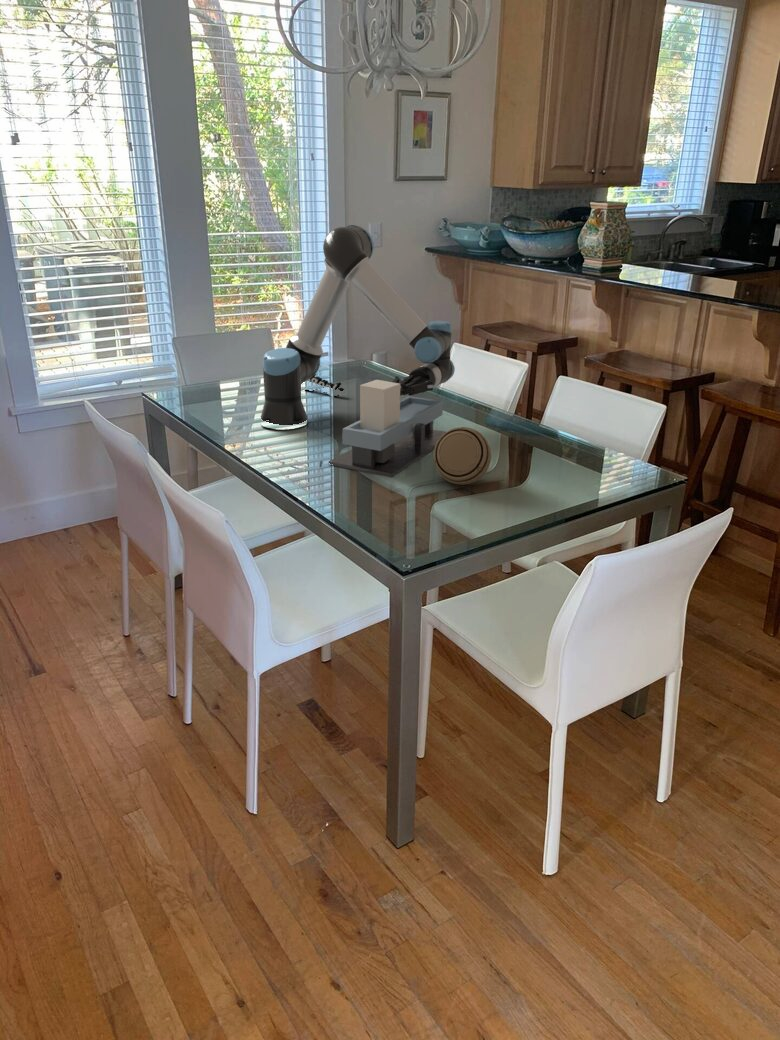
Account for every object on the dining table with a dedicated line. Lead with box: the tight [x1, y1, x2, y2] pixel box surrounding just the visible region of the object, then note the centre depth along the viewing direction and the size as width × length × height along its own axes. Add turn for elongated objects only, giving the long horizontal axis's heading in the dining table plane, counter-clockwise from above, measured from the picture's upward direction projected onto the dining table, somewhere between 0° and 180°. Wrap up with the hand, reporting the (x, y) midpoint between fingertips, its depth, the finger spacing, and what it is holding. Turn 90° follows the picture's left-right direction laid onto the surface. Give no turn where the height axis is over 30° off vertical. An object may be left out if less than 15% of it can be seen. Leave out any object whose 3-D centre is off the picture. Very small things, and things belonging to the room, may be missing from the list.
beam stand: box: [328, 420, 447, 478], centre depth 232 cm, size 42×20×9 cm, turn 152°
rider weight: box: [359, 379, 401, 432], centre depth 220 cm, size 8×8×12 cm
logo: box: [307, 373, 345, 391], centre depth 291 cm, size 21×2×10 cm, turn 53°
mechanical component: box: [432, 426, 492, 486], centre depth 206 cm, size 15×15×15 cm
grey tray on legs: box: [341, 395, 444, 463], centre depth 231 cm, size 40×13×9 cm, turn 152°
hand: (388, 395), depth 223 cm, fingers closed
